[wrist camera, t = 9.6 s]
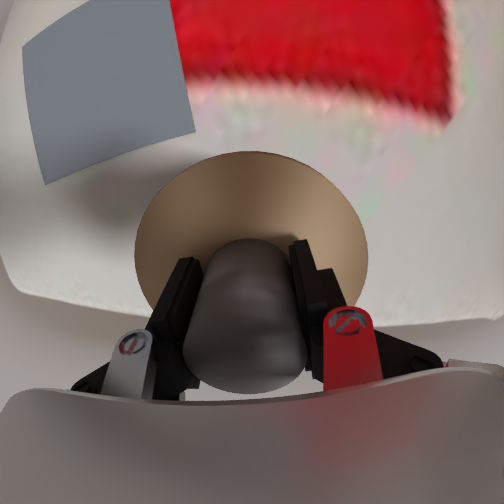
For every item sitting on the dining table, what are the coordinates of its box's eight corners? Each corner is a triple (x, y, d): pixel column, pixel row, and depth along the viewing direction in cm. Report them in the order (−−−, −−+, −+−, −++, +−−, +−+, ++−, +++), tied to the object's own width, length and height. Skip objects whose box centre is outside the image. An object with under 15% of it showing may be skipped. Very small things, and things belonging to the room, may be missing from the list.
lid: (353, 133, 9) (424, 153, 5) (360, 330, 14) (387, 410, 9) (111, 186, 11) (32, 237, 6) (183, 354, 15) (163, 431, 10)
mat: (164, -31, 14) (163, -32, 14) (195, 132, 22) (194, 132, 22) (24, 46, 16) (22, 46, 15) (47, 184, 24) (45, 185, 24)
